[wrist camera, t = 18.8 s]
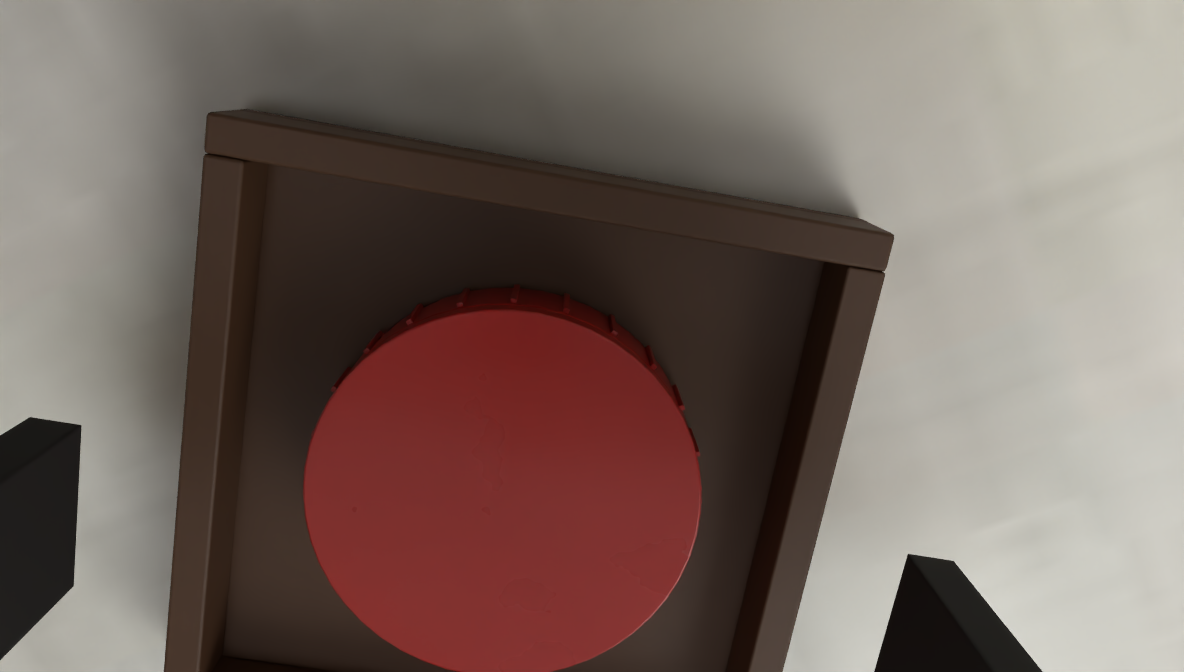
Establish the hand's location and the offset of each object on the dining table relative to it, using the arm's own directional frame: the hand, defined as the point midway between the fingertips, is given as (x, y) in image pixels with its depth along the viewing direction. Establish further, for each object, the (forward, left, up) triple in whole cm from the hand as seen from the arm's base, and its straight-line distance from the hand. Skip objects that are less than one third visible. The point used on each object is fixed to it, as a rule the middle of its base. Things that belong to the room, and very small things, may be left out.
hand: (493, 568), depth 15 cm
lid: (0, 0, -3) cm, 3 cm away
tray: (0, 0, -5) cm, 5 cm away
